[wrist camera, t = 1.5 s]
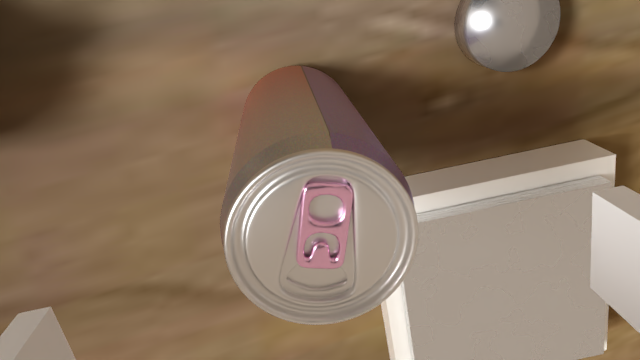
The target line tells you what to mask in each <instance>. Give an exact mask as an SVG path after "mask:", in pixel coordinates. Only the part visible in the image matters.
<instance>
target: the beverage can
mask: <svg viewBox="0 0 640 360" xmlns="http://www.w3.org/2000/svg"><path fill="white" fill-rule="evenodd" d="M220 232H221V239H222V244H223V247H224V254H225V259H226V263H227V266H228V269H229V271H230V274H231V276H232V278H233V280H234V281H235V283H236V285H237V286H238V287H239V289H240V290H241V291H242V292H243V294H244V295H245V296H246V297H247V298H248V299H249V300H250V301H252V302H253V303H254V304H255V305H257V306H258V307H259V308H261V309H262V310H264V311H266V312H267V313H269V314H271V315H273V316H276V317H278V318H281V319H284V320H287V321H290V322H295V323H300V324H311V325H322V324H332V323H338V322H342V321H346V320H349V319H352V318H355V317H358V316H360V315H362V314H364V313H366V312H368V311H370V310H372V309H373V308H375V307H377V306H378V305H379V304H381V303H382V302H383V301H385V300H386V299H387V298H388V297H389V296H390V295H391V294H392V293H393V292H394V291H395V290H396V289H397V288H398V287H399V286H400V284H401V283H402V281H403V280H404V279H405V277H406V275H407V274H408V272H409V270H410V268H411V266H412V263H413V261H414V258H415V255H416V251H417V245H418V235H419V233H418V220H417V215H416V211H415V208H414V201H413V197H412V193H411V190H410V187H409V185H408V183H407V181H406V179H405V177H404V175H403V174H402V172H401V171H400V169H399V168H398V167H397V165H396V164H395V162H394V161H393V160H392V158H391V157H390V155H389V154H388V153H387V151H386V150H385V149H384V147H383V146H382V144H381V143H380V142H379V140H378V139H377V137H376V136H375V135H374V133H373V132H372V130H371V129H370V128H369V126H368V125H367V124H366V122H365V121H364V119H363V118H362V117H361V115H360V114H359V112H358V111H357V110H356V108H355V107H354V106H353V104H352V103H351V101H350V100H349V99H348V97H347V96H346V94H345V93H344V92H343V90H342V89H341V88H340V86H339V85H338V84H337V83H336V82H335V81H334V80H333V79H332V78H331V77H330V76H328V75H327V74H325V73H323V72H322V71H319V70H317V69H314V68H311V67H307V66H288V67H283V68H280V69H277V70H275V71H272V72H271V73H269V74H267V75H266V76H264V77H263V78H262V79H261V80H260V81H258V83H257V84H256V85H255V86H254V87H253V89H252V90H251V92H250V93H249V95H248V97H247V100H246V103H245V106H244V110H243V115H242V119H241V124H240V128H239V133H238V137H237V142H236V146H235V151H234V155H233V160H232V164H231V169H230V173H229V178H228V182H227V187H226V191H225V196H224V200H223V204H222V209H221V216H220Z"/></svg>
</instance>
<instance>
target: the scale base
mask: <svg viewBox="0 0 640 360" xmlns="http://www.w3.org/2000/svg"><path fill="white" fill-rule="evenodd" d="M615 165H616V154H614V153H612V152H610V151H608V150H606V149H604V148H601V147H599V146H597V145H595V144H593V143H591V142H589V141H587V140H585V139H582V140H577V141H573V142H568V143H563V144H558V145H553V146H549V147H544V148H539V149H534V150H530V151H525V152H520V153H515V154H511V155H506V156H501V157H496V158H492V159H487V160H482V161H477V162H472V163H468V164H463V165H458V166H453V167H449V168H444V169H439V170H434V171H430V172H425V173H420V174H415V175H411V176H406V177H405V179H406V181H407V183H408V185H409V187H410V190H411V193H412V197H413V201H414V208H415V211H416V214H420V213H425V212H430V211H434V210H439V209H444V208H448V207H453V206H458V205H463V204H467V203H472V202H477V201H482V200H486V199H491V198H496V197H500V196H505V195H510V194H515V193H519V192H524V191H529V190H534V189H538V188H543V187H548V186H552V185H557V184H562V183H567V182H571V181H576V180H581V179H586V178H590V177H595V176H602V177H604V178H605V179H607V180H609V181H611V188H614V186H615ZM381 307H382V313H383V319H384V325H385V331H386V337H387V343H388V349H389V355H390V360H412V358H411V351H410V344H409V337H408V330H407V323H406V316H405V309H404V303H403V296H402V289H401V284H400V286H399V287H398V288H397V289H396V290H395V291H394V292H393V293H392V294H391V295H390V296H389V297H388V298H387V299H386V300H385V301H383V302H382V303H381ZM608 310H609V304H607V303H606V313H605V335H604V350H607V331H608Z"/></svg>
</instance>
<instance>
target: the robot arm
mask: <svg viewBox="0 0 640 360" xmlns="http://www.w3.org/2000/svg"><path fill="white" fill-rule="evenodd" d="M590 288H591V289H592V290H593V291H594V292H595V293H597V294H598V295H599V296H600V297H601V298H602V299H603V300H604V301H605V302H606V303H607V304H609V305H610V306H611V307H612V308H613V309H614V310H615V311H616V312H617V313H618V314H619V315H620V316H622V317H623V318H624V319H625V320H626V321H627V322H628V323H629V324H630V325H631V326H632V327H633V328H635V329H636V330H637V331H638V332H639V333H640V194H638V193H636V192H634V191H633V190H631V189H629V188H627V187H625V186H619V187H614V188H609V189H604V190H600V191H595V192H593V193H592V233H591V273H590ZM0 360H76V359H75V357H74V355H73V353H72V350H71V348H70V346H69V344H68V342H67V340H66V338H65V336H64V334H63V331H62V329H61V327H60V325H59V323H58V321H57V319H56V317H55V315H54V312H53V310H52V308H51V307H47V308H42V309H37V310H33V311H28V312H23V313H18V315H17V316H16V317H15V318H14V320H13V321H12V322H11V323H10V325H9V326H8V327H7V329H6V330H5V331H4V332H3V334H2V335H1V336H0Z"/></svg>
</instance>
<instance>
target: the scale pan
mask: <svg viewBox="0 0 640 360" xmlns="http://www.w3.org/2000/svg"><path fill="white" fill-rule="evenodd" d="M609 188H611V181H609V180H607V179H605V178H604V177H602V176H595V177H590V178H586V179H581V180H576V181H571V182H567V183H562V184H557V185H552V186H548V187H543V188H538V189H534V190H529V191H524V192H519V193H515V194H510V195H505V196H500V197H496V198H491V199H486V200H482V201H477V202H472V203H467V204H463V205H458V206H453V207H448V208H444V209H439V210H434V211H430V212H425V213H420V214H416V215H417V220H418V233H419V235H418V245H417V251H416V255H415V258H414V261H413V263H412V266H411V268H410V270H409V272H408V274H407V275H406V277H405V279H404V280H403V281H402V283H401V289H402V296H403V303H404V309H405V316H406V323H407V330H408V337H409V344H410V351H411V358H412V360H577V359H581V358H586V357H590V356H595V355H600V354H604V335H605V313H606V302H605V301H604V300H603V299H602V298H601V297H600V296H599V295H598V294H597V293H595V292H594V291H593V290H592V289H591V288H590V273H591V233H592V193H593V192H595V191H600V190H604V189H609Z"/></svg>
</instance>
